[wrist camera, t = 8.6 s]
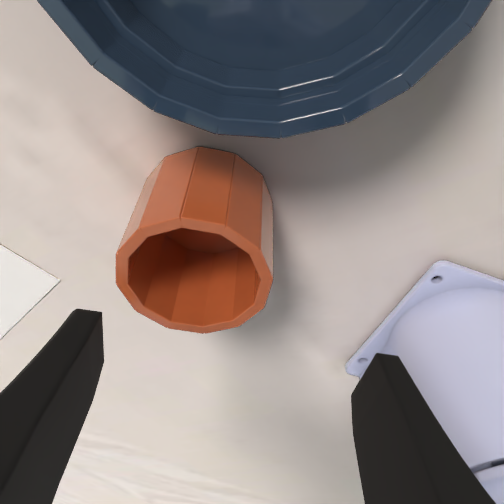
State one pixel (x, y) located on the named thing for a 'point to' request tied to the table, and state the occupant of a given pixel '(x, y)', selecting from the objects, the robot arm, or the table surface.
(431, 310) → the robot arm
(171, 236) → the orange hollow tube
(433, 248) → the table surface
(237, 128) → the serving bowl
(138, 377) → the table surface
